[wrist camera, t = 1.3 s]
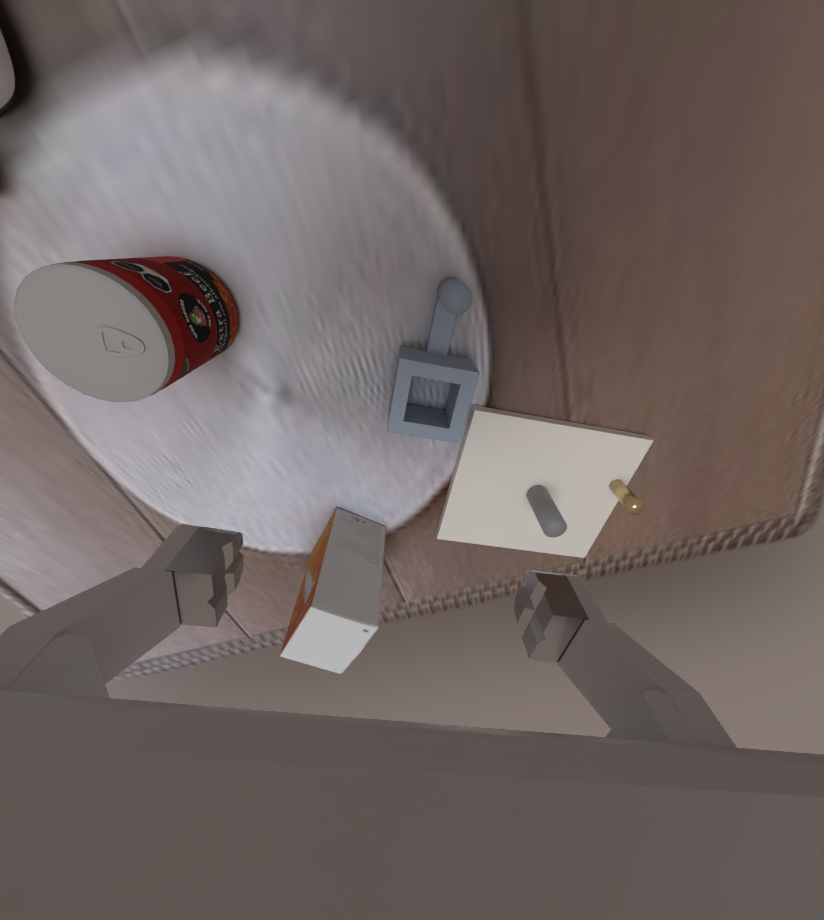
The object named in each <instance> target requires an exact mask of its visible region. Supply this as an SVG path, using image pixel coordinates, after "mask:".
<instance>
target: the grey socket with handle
mask: <svg viewBox="0 0 824 920" xmlns="http://www.w3.org/2000/svg"><path fill="white" fill-rule="evenodd" d="M437 294H438V295H437V300H436V305H435V310H434V315H433V320H432V325H431V329H430V334H429V339H428V344H427V349H426V350H421V349H415V348H410V347H405V346H400V350H399V356H398V362H397V368H396V374H395V380H394V385H393V391H392V397H391V403H390V409H389V417H388V428H387V432H393V433H399V434H406V435H412V436H418V437H424V438H431V439H437V440H443V441H449V442H456V443H459V442H460V439H461V435H462V432H463V428H464V425H465V421H466V418H467V414H468V411H469V407H470V404H471V400H472V397H473V393H474V390H475V386H476V383H477V379H478V376H479V371H478V370H477V368H476V366H475V364H474V363H473V361H472V359H469V358H463V357H458V356H453V355H448V351H449V347H450V342H451V338H452V334H453V330H454V325H455V321H456V317H457V315H458V314H462V313H464V312H465V311H466V310H467V309H468V308H469V307H470V305H471V301H472V295H471V292H470V290H469V288H468V287H467V286H466V285H464V284H463V283H461V282H460V281H459V280H457V279H456V278H453V277H448V278H445V279H443V280H442V281H441V282H440V284H439V286H438V289H437ZM412 376H415V377H421V378H427V379H432V380H438V381H443V382H449V383H452V384H451V388H450V392H449V396H448V400H447V404H446V408H445V410H440V409H434V408H428V407H422V406H416V405H410V404H407V400H408V394H409V389H410V384H411V379H412Z"/></svg>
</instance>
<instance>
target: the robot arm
mask: <svg viewBox="0 0 824 920" xmlns="http://www.w3.org/2000/svg"><path fill="white" fill-rule="evenodd" d="M242 545H243V537H242V534H241V533H240V532H235V531H228V530H222V529H215V528H209V527H199V526H193V525H187V524H181V525H179V526H177V527H176V528H175V529H174V531H173V532H172V533H171V534H170V535H169V536H168V538H167V539H166V540H165V541H164V542H163V543H162V545H161V546H160V547H159V548H158V549H157V550H156V552H155V553H154V554H153V555H152V556H151V557H150V559H149V560H148V561H147V562H146V563H145V564H144V566H143V567H142V568H136V567H135V568H133V569H131V570H128V571H126V572H124V573H122V574H120V575H118V576H116V577H114V578H111V579H109V580H107V581H105V582H103V583H101V584H99V585H97V586H94V587H92V588H90V589H88V590H86V591H84V592H82V593H80V594H77V595H75V596H73V597H71V598H69V599H67V600H65V601H63V602H60V603H58V604H56V605H54V606H52V607H50V608H48V609H46V610H43V611H41V612H39V613H37V614H35V615H33V616H31V617H29V618H26V619H24V620H22V621H20V622H18V623H16V624H14V625H12V626H10V627H9V628H8V629H6V630H5V631H4V632H3V633H2V634H1V635H0V920H824V755H823V754H810V753H796V752H784V751H771V750H759V749H746V748H737V747H736V746H735V744H734V743H733V741H732V740H731V738H730V737H729V735H728V734H727V732H726V731H725V729H724V728H723V727H722V725H721V724H720V722H719V721H718V719H717V718H716V716H715V715H714V713H713V712H712V710H711V709H710V707H709V706H708V705H707V703H706V702H705V700H704V699H703V697H702V696H701V694H700V693H699V692H697V691H696V690H695V689H694V688H693V687H691V686H690V685H689V684H688V683H686V682H685V681H684V680H683V679H681V678H680V677H679V676H678V675H676V674H675V673H674V672H673V671H672V670H670V669H669V668H668V667H667V666H665V665H664V664H663V663H662V662H660V661H659V660H658V659H657V658H656V657H654V656H653V655H652V654H651V653H649V652H648V651H647V650H646V649H644V648H643V647H642V646H641V645H640V644H638V643H637V642H636V641H635V640H633V639H632V638H631V637H630V636H629V635H627V634H626V633H625V632H624V631H622V630H621V629H620V628H619V627H617V626H616V625H615V624H614V623H609V622H608V621H607V619H606V618H605V616H604V614H603V613H602V611H601V609H600V607H599V606H598V604H597V602H596V601H595V599H594V597H593V595H592V593H591V592H590V590H589V588H588V586H587V585H586V583H585V581H584V579H583V578H582V577H580V576H579V575H570V574H559V573H551V572H543V571H535V570H530V571H528V572H527V573H526V575H525V577H524V582H525V585H526V586H524V587H523V588H521V589H519V590H518V593H517V595H516V598H515V605H514V610H515V616H516V620H517V623H518V624H519V625H520V626H521V627H522V628H523V629H524V630H525V632H524V634H523V636H522V639H523V642H524V645H525V648H526V651H527V654H528V658H529V659H533V660H540V661H547V662H555V663H558V665H559V667H560V668H561V669H562V670H563V671H564V673H565V674H566V675H567V676H568V678H569V679H570V680H571V681H572V682H573V684H574V685H575V686H576V687H577V689H578V690H579V691H580V692H581V693H582V695H583V696H584V697H585V698H586V699H587V700H588V702H589V703H590V704H591V706H592V707H593V708H594V709H595V710H596V712H597V713H598V714H599V715H600V716H601V717H602V719H603V720H604V721H605V723H606V724H607V725H608V726H609V727H610V728H611V731H610V732H609V733H608V734H607V736H606V737H594V736H582V735H569V734H557V733H543V732H531V731H518V730H505V729H493V728H480V727H467V726H455V725H441V724H429V723H415V722H404V721H391V720H378V719H366V718H351V717H340V716H328V715H315V714H302V713H290V712H277V711H263V710H252V709H238V708H226V707H214V706H201V705H189V704H176V703H163V702H151V701H138V700H125V699H112V698H110V697H109V694H108V691H107V688H106V686H105V684H106V683H107V682H109V681H110V680H111V679H113V678H114V677H115V676H116V675H118V674H119V673H120V672H122V671H123V670H124V669H126V668H127V667H128V666H130V665H131V664H132V663H133V662H135V661H136V660H137V659H139V658H140V657H141V656H143V655H144V654H145V653H146V652H148V651H149V650H150V649H152V648H153V647H154V646H156V645H157V644H158V643H160V642H161V641H162V640H163V639H165V638H166V637H167V636H169V635H170V634H171V633H173V632H174V631H175V630H176V629H178V628H179V627H180V625H194V626H207V627H217V625H218V623H219V621H220V619H221V617H222V615H223V613H224V611H225V609H226V607H227V606H228V602H227V596H228V595H230V594H231V593H233V592H234V591H235V590H236V588H237V586H238V584H239V581H240V578H241V574H242V571H243V563H244V562H243V555H242V554H241V553H240V552H239V550H240V548H241V546H242Z"/></svg>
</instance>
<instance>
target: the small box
mask: <svg viewBox="0 0 824 920" xmlns="http://www.w3.org/2000/svg"><path fill="white" fill-rule="evenodd" d="M385 533H386V527H385V526H382V525H380V524H378V523H375V522H373V521H370V520H368V519H365V518H362V517H360V516H358V515H355V514H353V513H350V512H347V511H345V510H342V509H340V508H336V509H335V511H334V513H333V515H332V517H331V519H330V521H329V523H328V525H327V526H326V528H325V530H324V532H323V534H322V535H321V537H320V539H319V541H318V542H317V544H316V546H315V548H314V549H313V551H312V553H311V556H310V559H309V563H308V566H307V569H306V572H305V576H304V579H303V582H302V585H301V589H300V592H299V595H298V598H297V602H296V605H295V608H294V611H293V615H292V618H291V621H290V624H289V628H288V631H287V634H286V637H285V640H284V644H283V647H282V650H281V653H280V656H281V657H284V658H288V659H291V660H295V661H298V662H301V663H305V664H308V665H312V666H315V667H319V668H322V669H326V670H329V671H333V672H336V673H339V674H341V673H343V671H344V670H345V669H346V668H347V667H348V666H349V664H350V663H351V662H352V661H353V660H354V658H355V657H356V656H357V655H358V654H359V653H360V652H361V651H362V649H363V648H364V646H365V645H366V643H367V642H368V641H369V639H370V638H371V637H372V635H373V634H374V633H375V632H376V630H377V629H378V627H379V615H380V602H381V588H382V573H383V558H384V546H385Z"/></svg>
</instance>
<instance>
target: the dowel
mask: <svg viewBox="0 0 824 920" xmlns="http://www.w3.org/2000/svg"><path fill="white" fill-rule="evenodd" d="M609 488H610V490H611V491H612V492H613V493H614V494H615V496H616V497H617V498H618V499H619V500H620V502H621V503H622V504H623V505H624V506H625V508H626V509H627V510H628V511H629V512H630V513H631V514H633V515H635V514H639V513H641V512H642V511H643V510H644V505H643V503H642V502H641V501H640V500H639V499H638V498H637V497H636V496H635V495H634V494H633V492H632V491H631V490H630V489H629V488H628V487H627V486H626V485H625V484H624V483H623V481H622V480H620V479H616V480H613V481H612V482H611V483H610V484H609Z"/></svg>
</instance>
